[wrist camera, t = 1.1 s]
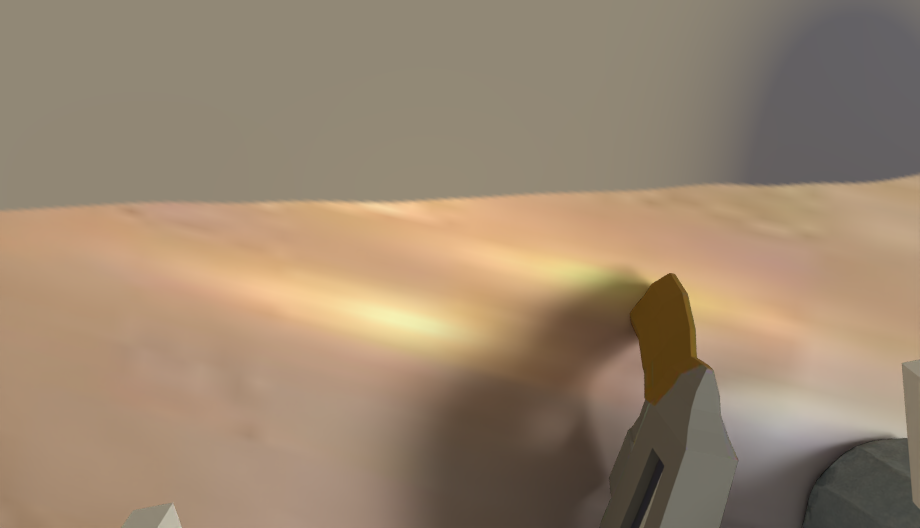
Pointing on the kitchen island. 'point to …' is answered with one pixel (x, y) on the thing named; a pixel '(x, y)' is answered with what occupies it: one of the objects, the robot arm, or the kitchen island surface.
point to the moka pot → (865, 489)
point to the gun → (672, 426)
